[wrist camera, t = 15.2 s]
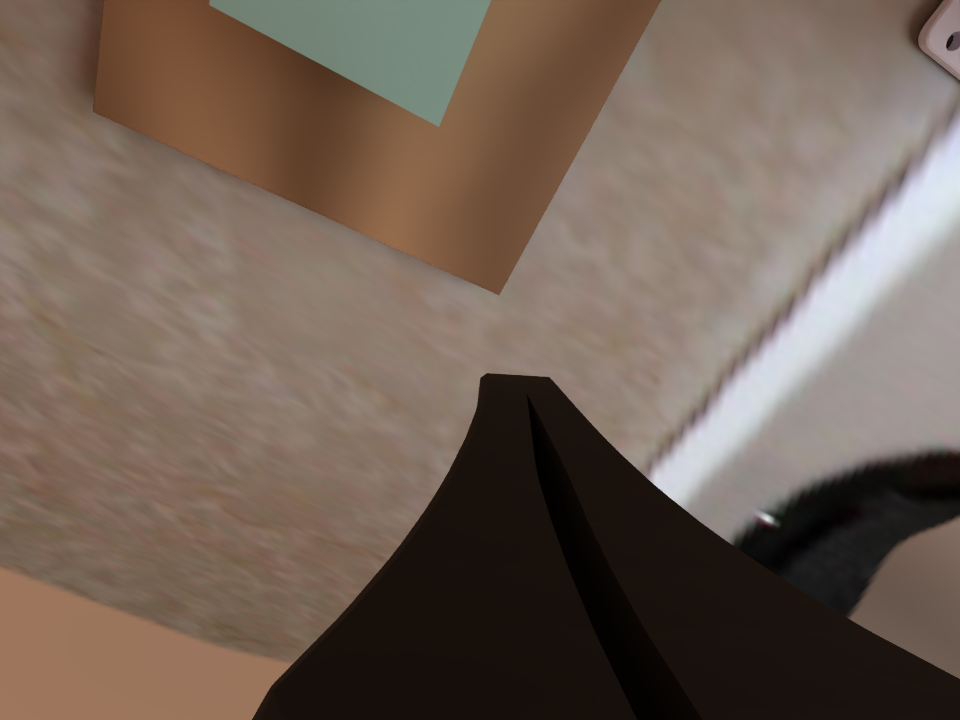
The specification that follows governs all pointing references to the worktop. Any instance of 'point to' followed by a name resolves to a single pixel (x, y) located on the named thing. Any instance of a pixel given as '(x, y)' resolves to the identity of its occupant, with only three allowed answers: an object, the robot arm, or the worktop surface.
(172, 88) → the board
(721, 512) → the worktop surface
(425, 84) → the sage green cube
